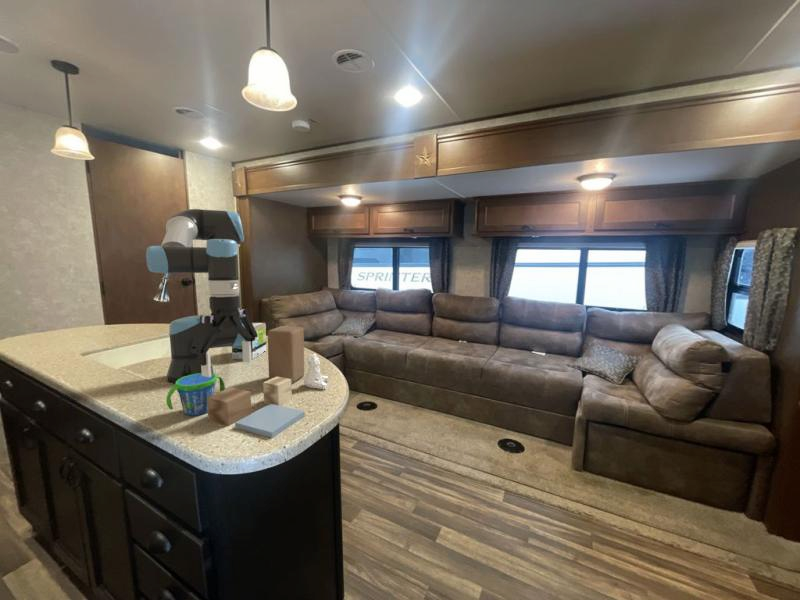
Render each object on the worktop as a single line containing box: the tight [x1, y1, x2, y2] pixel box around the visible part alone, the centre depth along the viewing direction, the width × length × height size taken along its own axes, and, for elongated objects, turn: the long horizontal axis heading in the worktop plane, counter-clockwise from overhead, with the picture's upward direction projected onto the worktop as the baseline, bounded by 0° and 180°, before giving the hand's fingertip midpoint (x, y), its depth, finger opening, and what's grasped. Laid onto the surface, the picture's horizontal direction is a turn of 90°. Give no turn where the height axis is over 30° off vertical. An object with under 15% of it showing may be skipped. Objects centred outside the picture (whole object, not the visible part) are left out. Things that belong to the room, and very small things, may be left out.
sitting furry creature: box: [303, 353, 329, 391], centre depth 120 cm, size 10×9×12 cm
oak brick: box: [262, 377, 293, 406], centre depth 107 cm, size 6×6×7 cm
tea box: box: [231, 322, 267, 361], centre depth 156 cm, size 15×10×15 cm, turn 179°
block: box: [267, 325, 305, 385], centre depth 125 cm, size 10×10×20 cm
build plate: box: [234, 404, 306, 439], centre depth 93 cm, size 13×13×2 cm
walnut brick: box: [207, 387, 253, 427], centre depth 95 cm, size 8×8×7 cm
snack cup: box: [166, 373, 226, 416], centre depth 99 cm, size 16×10×10 cm
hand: (228, 368), depth 94 cm, fingers open, 13 cm apart
